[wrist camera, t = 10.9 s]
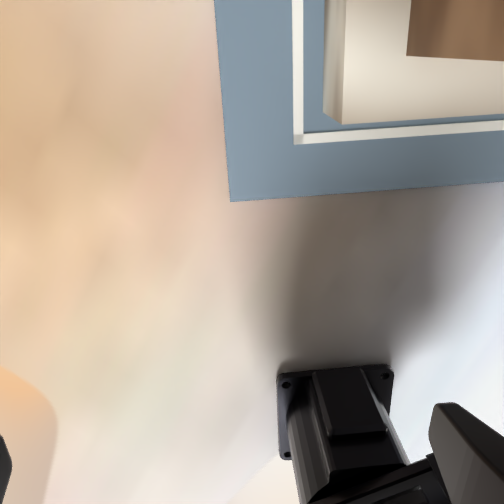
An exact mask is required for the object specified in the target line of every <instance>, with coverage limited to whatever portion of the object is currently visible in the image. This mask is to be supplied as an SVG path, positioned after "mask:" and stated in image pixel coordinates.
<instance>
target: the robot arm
mask: <svg viewBox="0 0 504 504" xmlns="http://www.w3.org/2000/svg"><path fill="white" fill-rule="evenodd" d="M385 372H386V373H385ZM383 373H385V374H383ZM381 374H383V375H381ZM393 379H394V372H393V370H392V369H391V367H390V366H389V365H387V364H379V365H368V366H357V367H346V368H335V369H324V370H313V371H302V372H291V373H283V374H281V375H279V376H278V377H277V380H276V385H277V412H278V438H279V453H280V457H281V458H282V459H284V460H292V462H293V468H294V473H295V479H296V485H297V490H298V495H299V502H300V504H504V437H503V436H502V435H500V434H499V433H498V432H496V431H495V430H493V429H492V428H491V427H489V426H488V425H486V424H485V423H484V422H482V421H481V420H479V419H478V418H477V417H475V416H474V415H472V414H471V413H470V412H468V411H467V410H465V409H464V408H463V407H461V406H460V405H458V404H456V403H453V402H449V403H438V404H436V405H435V406H434V408H433V412H432V417H431V422H430V426H429V441H430V444H431V447H432V450H433V452H434V453H431V454H428V455H426V458H424V459H422V460H419V461H417V462H414V463H412V464H410V461H409V459H408V457H407V455H406V453H405V451H404V448H403V446H402V444H401V442H400V440H399V438H398V435H397V433H396V431H395V429H394V427H393V424H392V422H391V420H390V418H389V413H390V405H391V396H392V388H393ZM284 382H288V383H286V384H284ZM11 471H12V461H11V457H10V455H9V452H8V449H7V447H6V444H5V442H4V439H3V437H2V436H1V435H0V504H2V502H3V498H4V495H5V492H6V489H7V485H8V482H9V478H10V475H11Z"/></svg>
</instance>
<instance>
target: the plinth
mask: <svg viewBox="0 0 504 504" xmlns="http://www.w3.org/2000/svg"><path fill="white" fill-rule="evenodd" d="M410 8H411V0H325V4H324V62H323V113H325V114H326V115H328V116H329V117H331V118H332V119H334V120H336V121H337V122H339V123H340V124H342V125H343V124H358V123H372V122H387V121H402V120H416V119H431V118H445V117H460V116H475V115H489V114H504V61H488V60H470V59H452V58H434V57H416V56H406V51H407V40H408V30H409V19H410Z"/></svg>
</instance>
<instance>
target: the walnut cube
mask: <svg viewBox="0 0 504 504" xmlns="http://www.w3.org/2000/svg"><path fill="white" fill-rule="evenodd" d="M406 56H416V57H434V58H452V59H470V60H488V61H504V0H411V8H410V19H409V30H408V40H407V51H406Z"/></svg>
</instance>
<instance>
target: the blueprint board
mask: <svg viewBox="0 0 504 504" xmlns="http://www.w3.org/2000/svg"><path fill="white" fill-rule="evenodd" d="M324 4H325V0H214V6H215V18H216V30H217V43H218V55H219V68H220V80H221V93H222V105H223V118H224V130H225V142H226V155H227V167H228V180H229V192H230V202H236V201H250V200H263V199H276V198H290V197H303V196H317V195H330V194H343V193H357V192H370V191H383V190H397V189H410V188H423V187H437V186H450V185H463V184H477V183H490V182H503V181H504V114H489V115H475V116H460V117H445V118H431V119H416V120H402V121H387V122H372V123H358V124H343V125H342V124H340V123H339V122H337V121H336V120H334V119H332V118H331V117H329V116H328V115H326V114H325V113H323V62H324Z"/></svg>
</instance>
